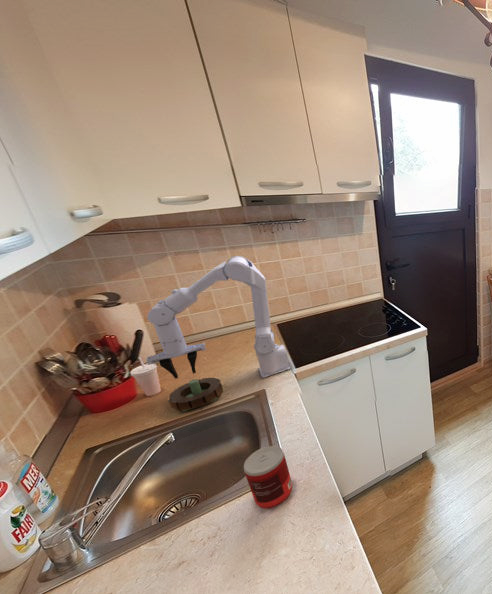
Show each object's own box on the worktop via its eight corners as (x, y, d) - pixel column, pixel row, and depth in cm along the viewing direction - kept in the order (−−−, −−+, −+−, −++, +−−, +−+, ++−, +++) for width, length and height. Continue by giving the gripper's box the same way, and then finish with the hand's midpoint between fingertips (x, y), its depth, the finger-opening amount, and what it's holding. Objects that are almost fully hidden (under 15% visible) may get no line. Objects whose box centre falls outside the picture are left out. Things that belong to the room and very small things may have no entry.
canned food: (281, 474, 82) (271, 440, 78) (300, 489, 78) (290, 454, 74) (248, 499, 76) (235, 463, 72) (267, 516, 72) (255, 479, 68)
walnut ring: (221, 379, 118) (218, 373, 117) (224, 397, 108) (222, 390, 107) (172, 395, 110) (169, 388, 109) (171, 415, 100) (168, 408, 99)
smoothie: (150, 399, 110) (134, 363, 105) (135, 397, 111) (119, 361, 106) (171, 388, 115) (156, 353, 110) (156, 385, 117) (142, 351, 112)
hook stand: (215, 387, 116) (209, 370, 113) (217, 400, 109) (211, 382, 107) (182, 398, 110) (175, 380, 108) (182, 412, 104) (174, 393, 101)
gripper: (199, 328, 114) (211, 362, 119) (142, 341, 105) (157, 377, 110) (200, 335, 109) (212, 370, 114) (140, 350, 100) (156, 387, 105)
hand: (185, 374), depth 112 cm, fingers open, 4 cm apart
